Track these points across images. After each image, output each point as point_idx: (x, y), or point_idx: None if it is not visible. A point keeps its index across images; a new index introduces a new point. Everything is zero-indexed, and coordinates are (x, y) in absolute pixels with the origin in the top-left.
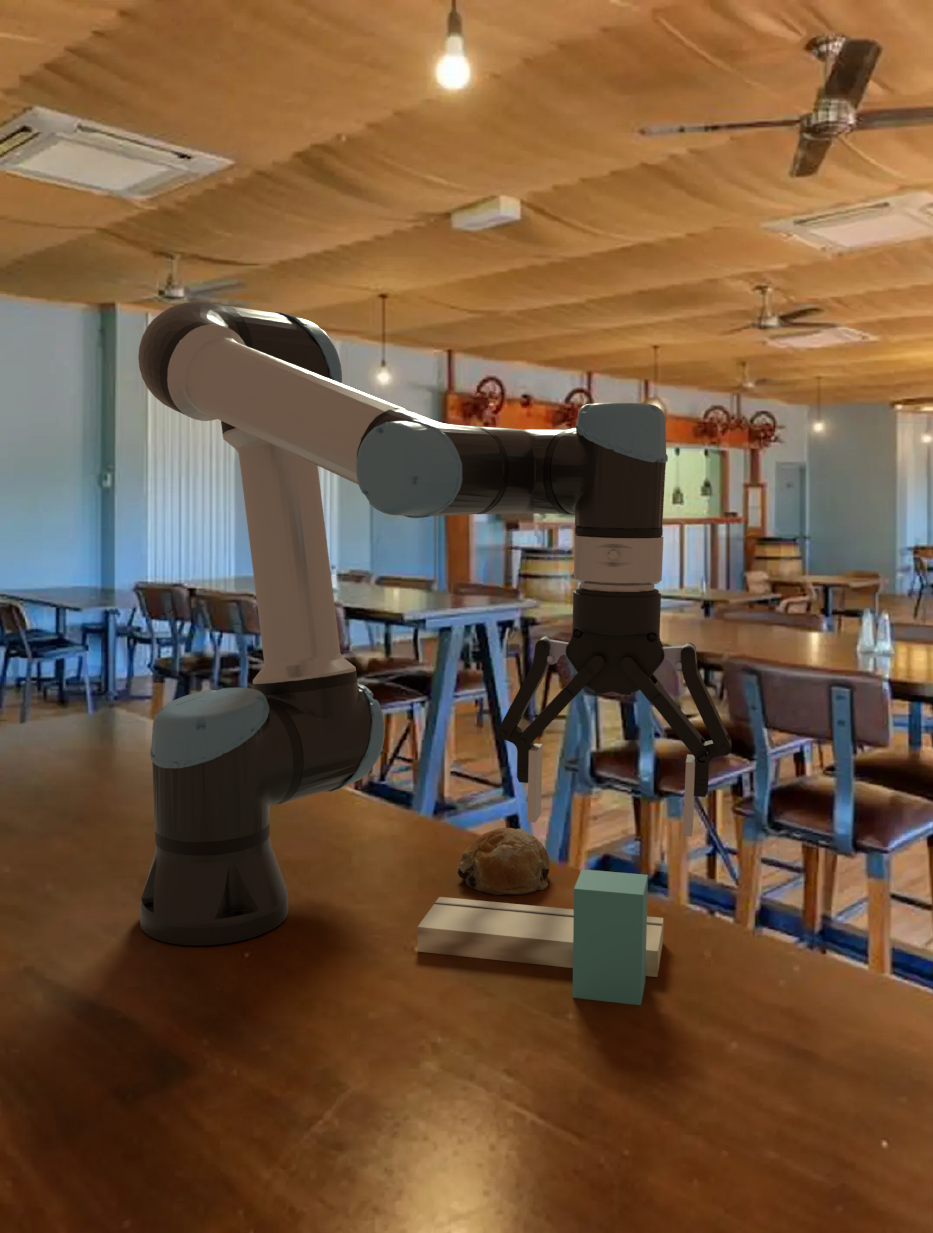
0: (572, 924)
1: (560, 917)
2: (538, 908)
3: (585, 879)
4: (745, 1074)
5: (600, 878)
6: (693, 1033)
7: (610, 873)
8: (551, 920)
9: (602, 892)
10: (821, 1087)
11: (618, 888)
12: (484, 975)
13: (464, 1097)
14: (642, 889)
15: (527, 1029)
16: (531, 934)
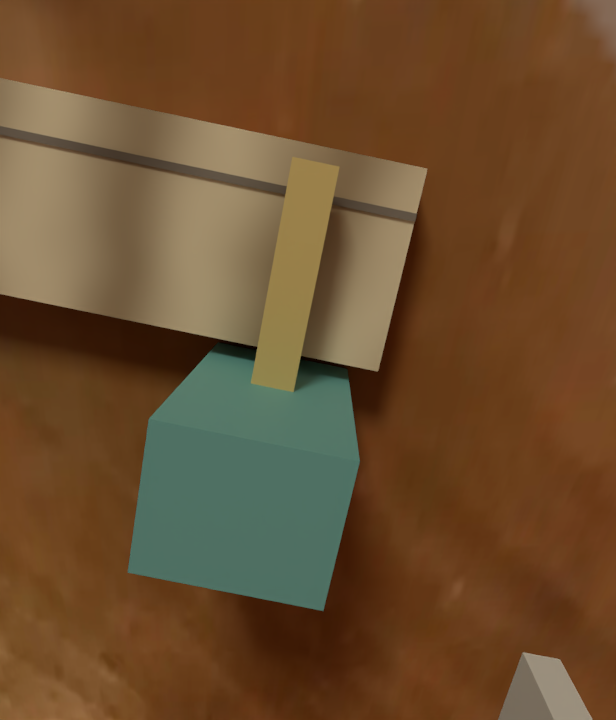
0: (188, 224)
1: (157, 179)
2: (96, 116)
3: (160, 505)
4: (451, 662)
5: (207, 494)
6: (399, 557)
7: (241, 451)
8: (134, 202)
9: (210, 587)
10: None
11: (256, 567)
12: (28, 359)
13: (56, 714)
14: (326, 575)
15: (127, 550)
16: (91, 290)
